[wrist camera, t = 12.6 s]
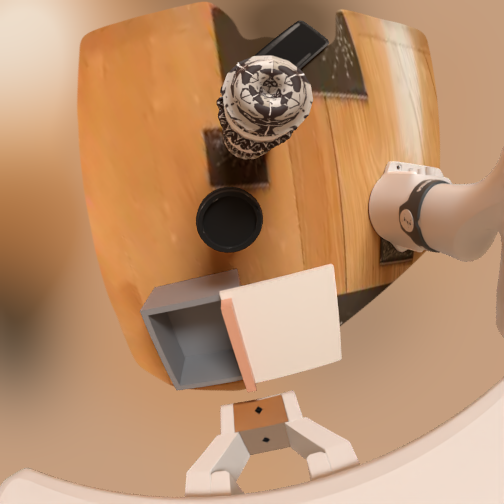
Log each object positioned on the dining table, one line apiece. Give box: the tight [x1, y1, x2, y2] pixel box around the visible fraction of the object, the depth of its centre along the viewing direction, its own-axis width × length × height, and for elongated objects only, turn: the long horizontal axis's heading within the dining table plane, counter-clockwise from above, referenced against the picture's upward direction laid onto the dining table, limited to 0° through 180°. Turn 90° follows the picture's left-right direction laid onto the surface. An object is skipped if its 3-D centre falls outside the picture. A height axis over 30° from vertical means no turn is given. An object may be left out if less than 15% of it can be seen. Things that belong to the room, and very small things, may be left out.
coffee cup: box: [196, 187, 263, 253], centre depth 39 cm, size 8×8×15 cm
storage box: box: [140, 269, 243, 390], centre depth 46 cm, size 16×17×10 cm
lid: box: [219, 264, 342, 392], centre depth 40 cm, size 17×18×4 cm
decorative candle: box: [217, 56, 313, 159], centre depth 31 cm, size 9×9×25 cm
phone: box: [255, 21, 329, 70], centre depth 40 cm, size 8×1×15 cm
